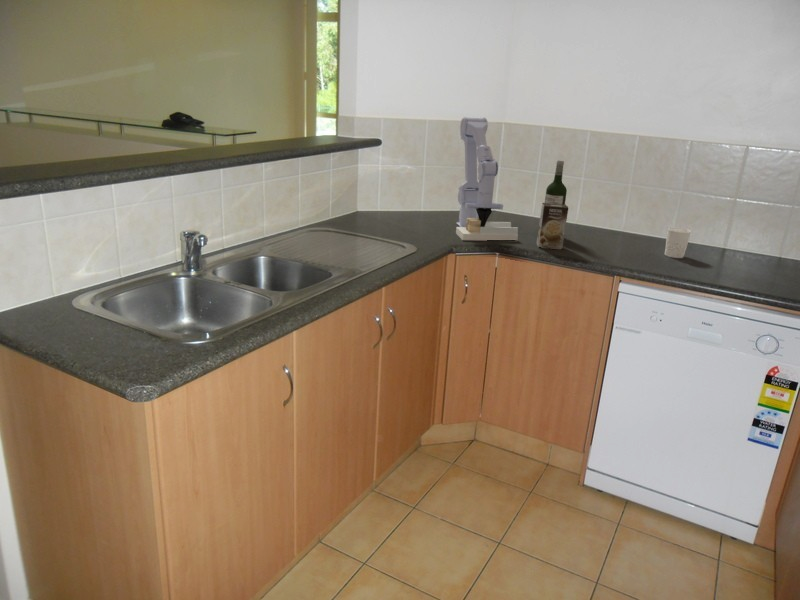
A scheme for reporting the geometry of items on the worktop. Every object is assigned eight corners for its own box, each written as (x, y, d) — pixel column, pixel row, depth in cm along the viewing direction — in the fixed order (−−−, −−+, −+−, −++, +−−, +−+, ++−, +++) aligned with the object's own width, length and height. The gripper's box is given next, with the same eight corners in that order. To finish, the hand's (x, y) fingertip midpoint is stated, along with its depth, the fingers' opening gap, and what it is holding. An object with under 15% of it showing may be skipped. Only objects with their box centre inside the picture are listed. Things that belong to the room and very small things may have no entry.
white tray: (455, 233, 254) (456, 220, 252) (508, 233, 258) (510, 221, 256) (462, 240, 244) (463, 227, 242) (517, 240, 247) (518, 228, 246)
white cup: (658, 253, 240) (663, 227, 237) (674, 252, 243) (679, 226, 240) (673, 259, 234) (678, 232, 230) (690, 258, 236) (695, 232, 233)
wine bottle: (540, 236, 256) (550, 161, 245) (540, 232, 263) (550, 158, 253) (560, 238, 254) (571, 163, 244) (560, 234, 261) (570, 160, 251)
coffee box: (537, 248, 239) (543, 205, 233) (536, 243, 245) (541, 202, 239) (562, 249, 238) (568, 207, 233) (560, 245, 244) (566, 204, 239)
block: (465, 229, 251) (466, 217, 249) (476, 229, 251) (477, 218, 250) (468, 231, 247) (469, 220, 245) (479, 232, 247) (480, 220, 246)
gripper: (469, 194, 240) (466, 229, 244) (506, 195, 242) (503, 229, 247) (465, 190, 246) (462, 225, 251) (501, 191, 248) (497, 225, 253)
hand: (482, 227), depth 249 cm, fingers closed
